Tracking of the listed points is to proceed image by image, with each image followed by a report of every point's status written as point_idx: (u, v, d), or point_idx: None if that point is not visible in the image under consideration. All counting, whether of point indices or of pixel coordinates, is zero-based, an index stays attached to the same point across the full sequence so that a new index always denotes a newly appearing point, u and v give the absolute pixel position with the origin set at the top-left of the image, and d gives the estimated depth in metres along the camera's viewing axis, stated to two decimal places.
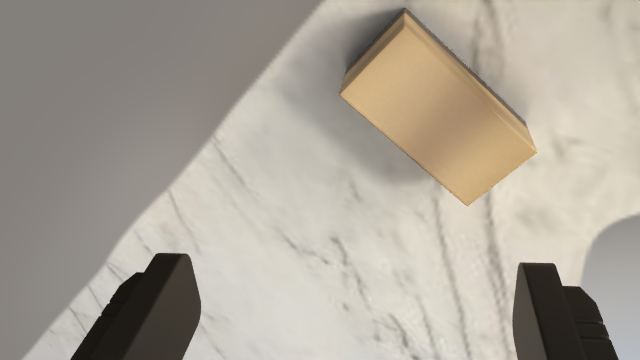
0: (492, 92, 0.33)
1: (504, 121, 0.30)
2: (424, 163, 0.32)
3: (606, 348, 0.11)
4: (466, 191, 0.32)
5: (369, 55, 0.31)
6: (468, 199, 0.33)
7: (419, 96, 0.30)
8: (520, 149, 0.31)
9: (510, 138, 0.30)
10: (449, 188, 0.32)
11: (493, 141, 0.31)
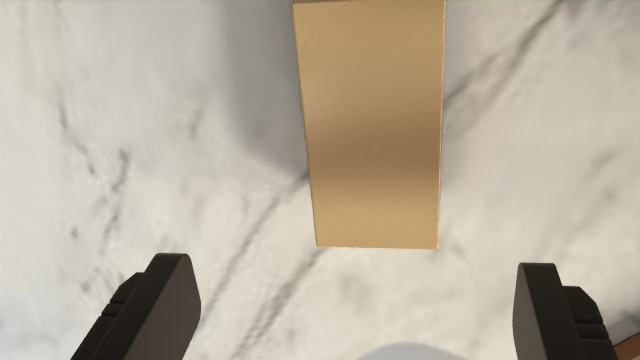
0: None
1: (439, 194, 0.22)
2: (315, 167, 0.22)
3: (606, 348, 0.11)
4: (330, 231, 0.23)
5: None
6: (325, 240, 0.23)
7: (382, 91, 0.20)
8: (425, 234, 0.23)
9: (427, 216, 0.22)
10: (316, 214, 0.23)
11: (409, 205, 0.22)
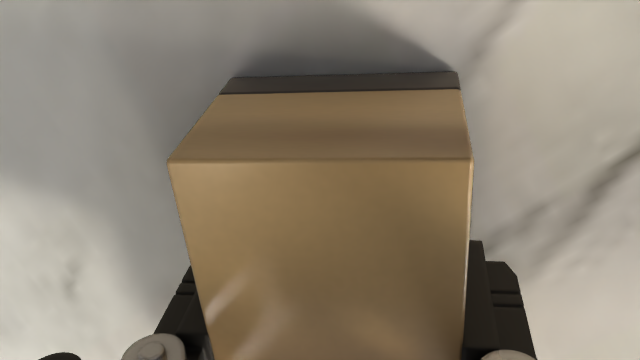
0: None
1: None
2: None
3: (519, 315, 0.12)
4: None
5: (315, 122, 0.10)
6: None
7: (349, 312, 0.11)
8: None
9: None
10: None
11: None
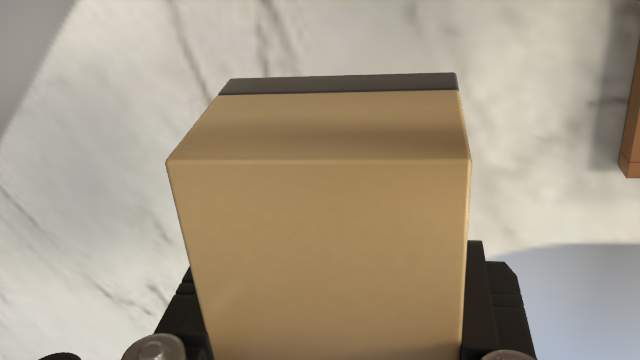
0: None
1: None
2: None
3: (519, 315, 0.12)
4: None
5: (314, 122, 0.10)
6: None
7: (348, 312, 0.11)
8: None
9: None
10: None
11: None
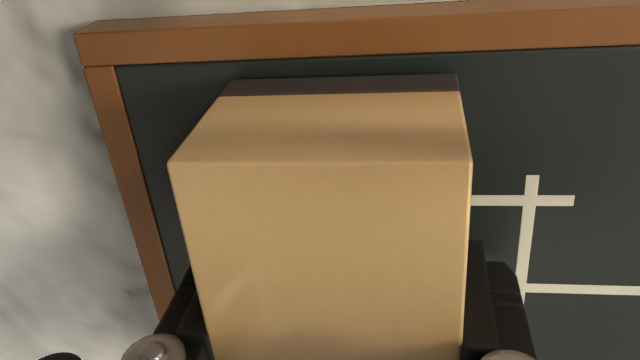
0: None
1: None
2: None
3: (519, 315, 0.12)
4: None
5: (315, 124, 0.10)
6: None
7: (349, 313, 0.11)
8: None
9: None
10: None
11: None
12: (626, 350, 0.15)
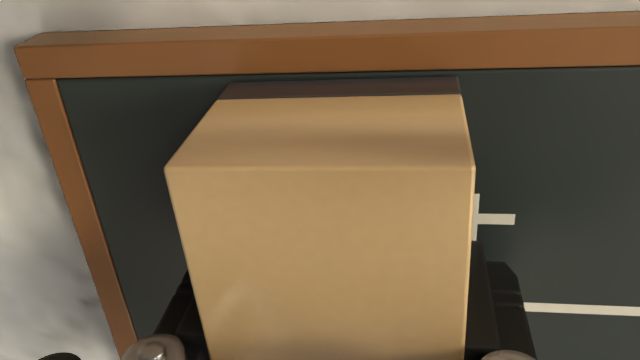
0: None
1: None
2: None
3: (519, 315, 0.12)
4: None
5: (315, 128, 0.10)
6: None
7: (349, 320, 0.10)
8: None
9: None
10: None
11: None
12: None
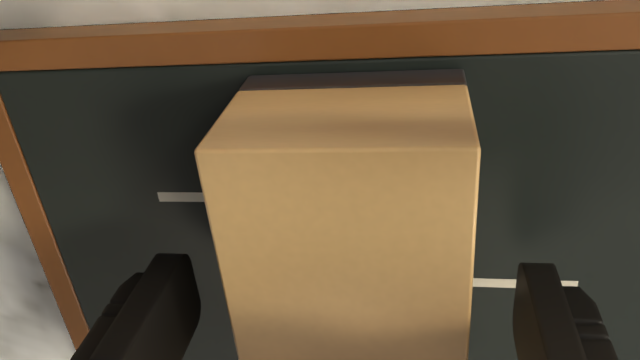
0: None
1: None
2: None
3: (606, 348, 0.11)
4: None
5: (332, 115, 0.11)
6: None
7: (364, 293, 0.11)
8: None
9: None
10: None
11: None
12: (482, 339, 0.17)
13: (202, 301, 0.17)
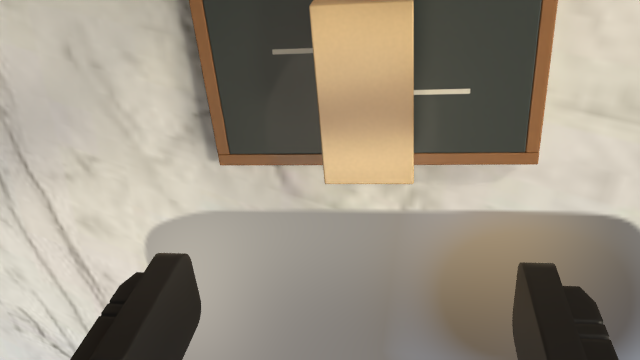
0: None
1: (413, 141, 0.30)
2: (324, 123, 0.30)
3: (606, 348, 0.11)
4: (334, 171, 0.32)
5: None
6: (331, 179, 0.32)
7: (371, 67, 0.29)
8: (403, 172, 0.31)
9: (405, 158, 0.31)
10: (325, 159, 0.32)
11: (391, 150, 0.31)
12: (428, 125, 0.34)
13: (288, 111, 0.35)
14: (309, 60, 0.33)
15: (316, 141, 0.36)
